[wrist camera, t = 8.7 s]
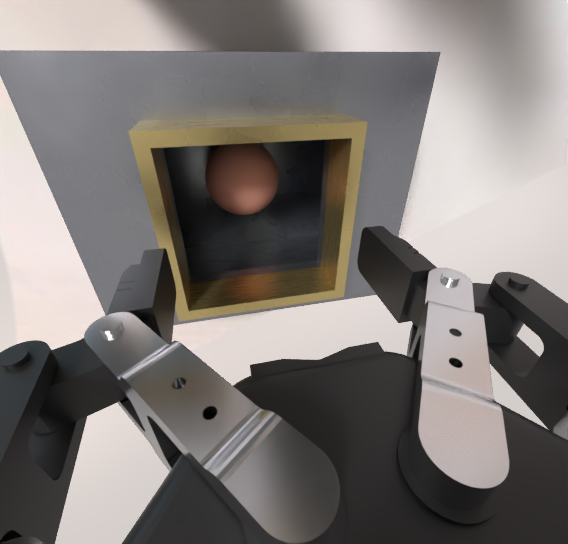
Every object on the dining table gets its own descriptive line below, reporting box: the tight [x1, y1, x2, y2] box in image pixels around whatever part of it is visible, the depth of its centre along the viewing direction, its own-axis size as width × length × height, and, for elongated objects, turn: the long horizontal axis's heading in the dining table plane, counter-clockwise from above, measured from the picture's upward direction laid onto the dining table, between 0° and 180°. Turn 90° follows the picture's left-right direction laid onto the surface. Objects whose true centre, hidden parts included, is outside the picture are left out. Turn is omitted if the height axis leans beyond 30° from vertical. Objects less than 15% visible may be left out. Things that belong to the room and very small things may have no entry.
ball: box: [205, 143, 279, 215], centre depth 21 cm, size 5×5×5 cm
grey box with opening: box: [0, 51, 440, 325], centre depth 19 cm, size 18×14×12 cm
